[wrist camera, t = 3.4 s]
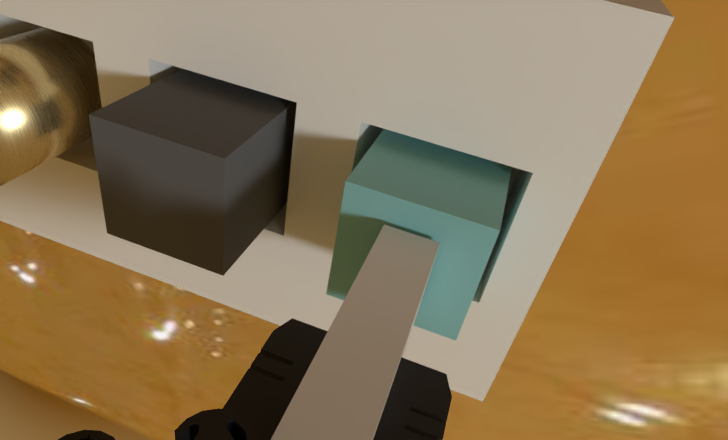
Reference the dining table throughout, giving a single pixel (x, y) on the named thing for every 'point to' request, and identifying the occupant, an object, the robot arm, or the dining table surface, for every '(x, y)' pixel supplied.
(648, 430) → the dining table surface
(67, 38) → the gold metal cylinder
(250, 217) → the dark grey cube
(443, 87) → the white slotted tray
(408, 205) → the teal cube
